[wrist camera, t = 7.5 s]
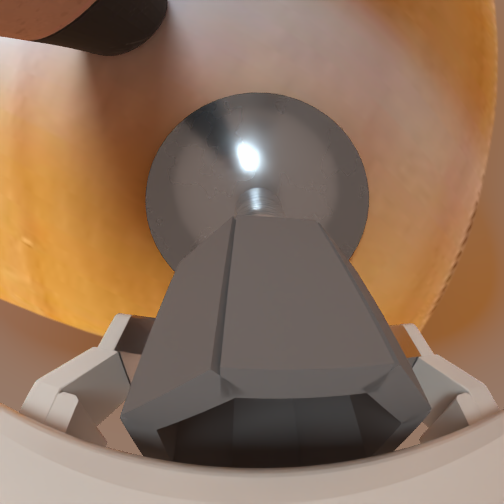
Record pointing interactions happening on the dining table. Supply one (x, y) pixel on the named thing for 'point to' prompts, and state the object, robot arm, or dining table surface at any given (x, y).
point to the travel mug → (83, 23)
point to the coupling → (270, 357)
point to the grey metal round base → (254, 173)
